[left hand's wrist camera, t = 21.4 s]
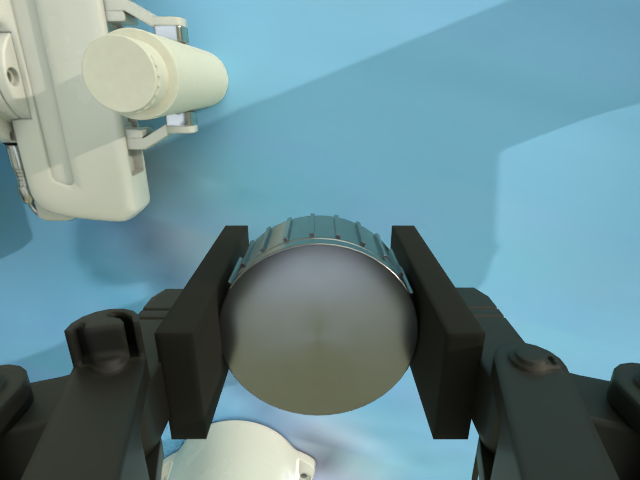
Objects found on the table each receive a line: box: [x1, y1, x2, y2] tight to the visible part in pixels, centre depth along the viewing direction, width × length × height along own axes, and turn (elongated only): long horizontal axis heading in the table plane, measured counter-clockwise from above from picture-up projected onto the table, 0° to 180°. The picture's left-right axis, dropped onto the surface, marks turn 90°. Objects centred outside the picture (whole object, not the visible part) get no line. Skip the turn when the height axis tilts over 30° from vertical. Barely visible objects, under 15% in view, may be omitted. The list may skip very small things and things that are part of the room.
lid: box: [219, 214, 419, 415], centre depth 11 cm, size 5×5×2 cm
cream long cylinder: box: [82, 28, 228, 120], centre depth 27 cm, size 4×4×16 cm
